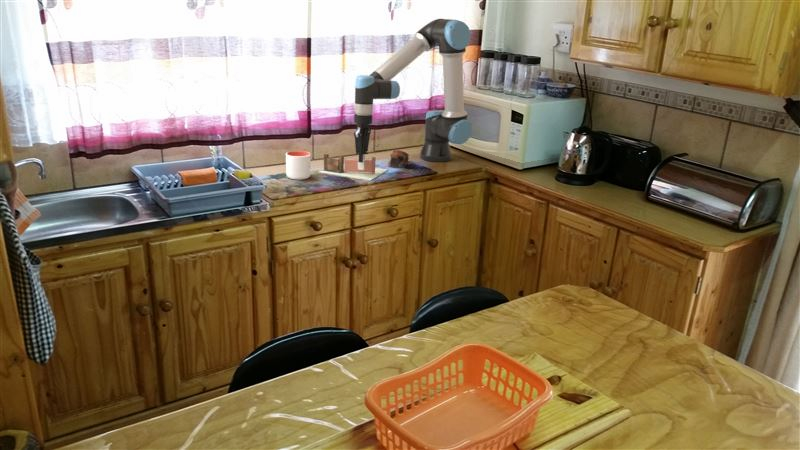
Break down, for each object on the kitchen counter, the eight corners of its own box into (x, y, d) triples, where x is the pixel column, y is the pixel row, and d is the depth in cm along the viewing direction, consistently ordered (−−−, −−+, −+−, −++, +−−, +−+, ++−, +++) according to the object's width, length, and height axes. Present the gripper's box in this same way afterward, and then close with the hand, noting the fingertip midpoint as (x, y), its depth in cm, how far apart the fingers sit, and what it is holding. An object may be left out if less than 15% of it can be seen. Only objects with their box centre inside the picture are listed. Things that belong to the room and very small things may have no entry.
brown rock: (382, 166, 292) (388, 149, 293) (399, 173, 297) (404, 156, 298) (397, 165, 282) (402, 147, 283) (413, 172, 287) (418, 155, 288)
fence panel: (344, 172, 273) (344, 157, 271) (344, 171, 275) (344, 156, 273) (375, 172, 274) (375, 158, 272) (375, 172, 276) (375, 157, 273)
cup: (307, 173, 272) (307, 150, 269) (312, 179, 263) (312, 156, 260) (284, 174, 269) (284, 151, 266) (288, 181, 260) (288, 157, 257)
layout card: (387, 170, 283) (387, 169, 282) (370, 180, 266) (370, 179, 266) (337, 163, 291) (337, 162, 290) (318, 172, 274) (318, 171, 274)
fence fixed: (344, 173, 275) (344, 156, 272) (342, 174, 273) (342, 157, 271) (325, 170, 278) (325, 153, 275) (323, 171, 276) (323, 154, 274)
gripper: (361, 111, 271) (359, 165, 279) (348, 114, 260) (346, 171, 267) (377, 113, 269) (375, 167, 276) (365, 116, 257) (363, 173, 265)
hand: (361, 169), depth 272 cm, fingers closed
